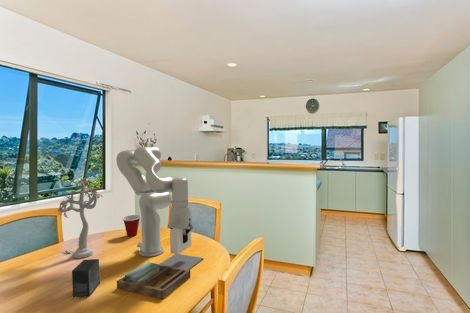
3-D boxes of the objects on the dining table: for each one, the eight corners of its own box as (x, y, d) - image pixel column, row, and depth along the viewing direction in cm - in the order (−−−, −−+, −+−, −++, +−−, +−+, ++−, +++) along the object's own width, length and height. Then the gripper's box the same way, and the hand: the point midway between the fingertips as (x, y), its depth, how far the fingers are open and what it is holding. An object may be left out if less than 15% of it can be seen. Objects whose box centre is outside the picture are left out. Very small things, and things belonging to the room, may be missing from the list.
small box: (84, 284, 118) (83, 259, 117) (100, 283, 118) (99, 258, 118) (71, 297, 107) (70, 270, 107) (89, 297, 108) (89, 269, 107)
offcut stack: (124, 286, 116) (124, 275, 115) (148, 271, 129) (147, 261, 129) (138, 289, 113) (138, 278, 113) (160, 274, 126) (160, 264, 126)
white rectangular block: (170, 253, 133) (169, 229, 133) (184, 245, 144) (183, 223, 144) (177, 254, 132) (177, 230, 131) (191, 245, 143) (190, 223, 143)
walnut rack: (116, 288, 114) (116, 280, 114) (148, 269, 132) (148, 262, 132) (163, 299, 106) (163, 291, 106) (190, 276, 123) (190, 270, 123)
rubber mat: (156, 266, 134) (156, 265, 134) (176, 254, 149) (176, 253, 149) (186, 272, 128) (186, 270, 128) (203, 259, 143) (203, 257, 143)
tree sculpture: (38, 259, 143) (36, 179, 142) (78, 244, 165) (76, 175, 164) (81, 267, 134) (79, 181, 133) (117, 249, 156) (116, 176, 155)
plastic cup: (119, 238, 177) (118, 218, 176) (128, 232, 187) (128, 214, 187) (135, 238, 175) (135, 219, 174) (143, 233, 186) (143, 215, 185)
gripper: (160, 204, 137) (161, 242, 138) (191, 206, 131) (192, 246, 131) (170, 201, 144) (170, 237, 145) (199, 203, 138) (200, 241, 138)
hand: (181, 241), depth 138 cm, fingers closed on white rectangular block, 4 cm apart
